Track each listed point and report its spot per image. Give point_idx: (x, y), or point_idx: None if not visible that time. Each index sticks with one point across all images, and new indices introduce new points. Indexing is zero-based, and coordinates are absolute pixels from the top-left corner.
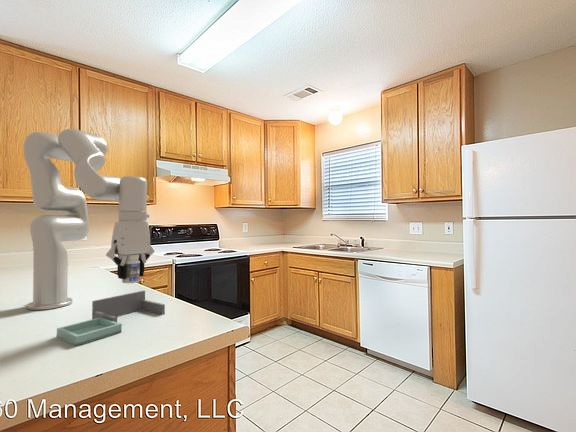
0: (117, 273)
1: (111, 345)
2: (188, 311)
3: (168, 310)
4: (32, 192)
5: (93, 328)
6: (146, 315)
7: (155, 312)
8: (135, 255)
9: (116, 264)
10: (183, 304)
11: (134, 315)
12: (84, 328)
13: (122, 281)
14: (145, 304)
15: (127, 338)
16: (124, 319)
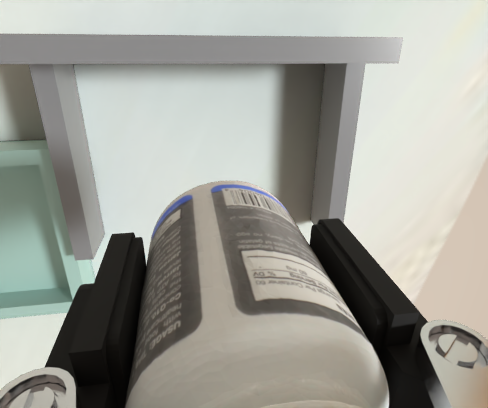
0: (74, 299)
1: (28, 364)
2: (388, 261)
3: (368, 186)
4: None
5: (11, 196)
6: (271, 174)
7: (315, 176)
8: None
9: (11, 396)
10: (470, 158)
11: (241, 127)
12: None
13: (150, 242)
14: (334, 97)
15: None
16: (179, 148)
